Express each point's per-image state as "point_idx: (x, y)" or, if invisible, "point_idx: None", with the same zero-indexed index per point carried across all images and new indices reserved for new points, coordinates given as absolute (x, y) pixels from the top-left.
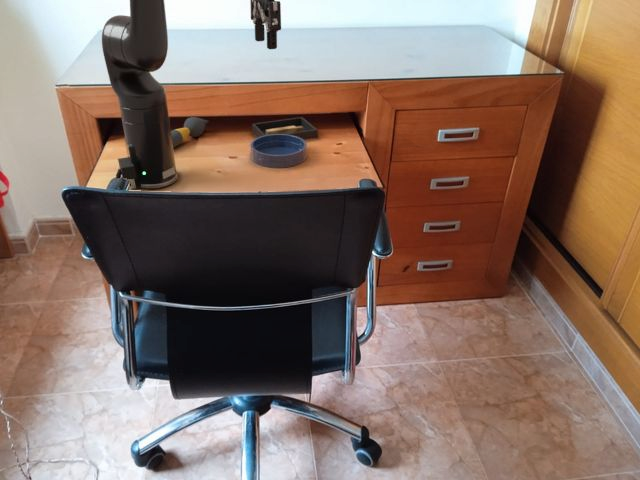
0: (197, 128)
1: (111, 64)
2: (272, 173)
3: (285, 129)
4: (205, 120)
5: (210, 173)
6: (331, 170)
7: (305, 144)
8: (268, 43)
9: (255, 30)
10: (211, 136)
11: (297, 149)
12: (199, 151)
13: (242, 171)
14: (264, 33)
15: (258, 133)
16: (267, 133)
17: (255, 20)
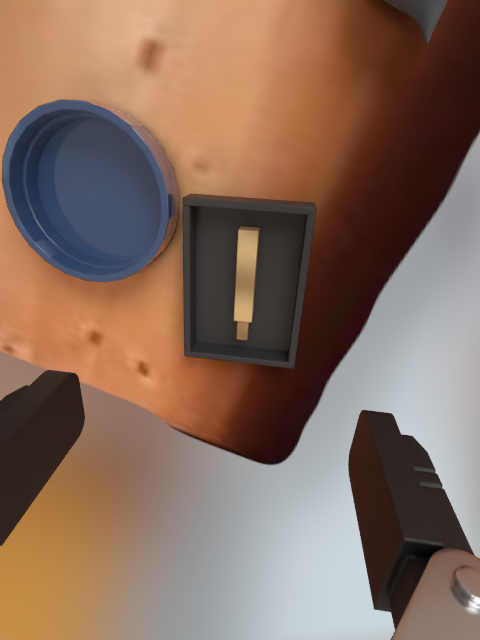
0: None
1: None
2: None
3: (235, 287)
4: (426, 19)
5: None
6: (8, 279)
7: (65, 270)
8: (23, 396)
9: (395, 482)
10: (362, 42)
11: (124, 261)
12: None
13: (44, 46)
14: (358, 518)
15: (251, 200)
16: (242, 228)
17: (407, 610)
